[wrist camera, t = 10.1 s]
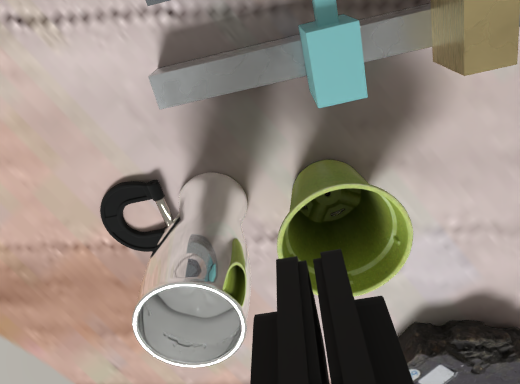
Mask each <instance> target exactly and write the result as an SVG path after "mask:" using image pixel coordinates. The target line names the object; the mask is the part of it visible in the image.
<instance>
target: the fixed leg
mask: <svg viewBox="0 0 520 384" xmlns="http://www.w3.org/2000/svg"><path fill="white" fill-rule="evenodd" d="M519 16H520V0H431V23H432V49H433V62H435V63H438V64H440V65H442V66H444V67H446V68H448V69H450V70H453V71H455V72H457V73H459V74H461V75H463V76H466V75H471V74H475V73H480V72H484V71H489V70H493V69H498V68H502V67H507V66H511V65H516V64H517V56H518V36H519Z"/></svg>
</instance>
